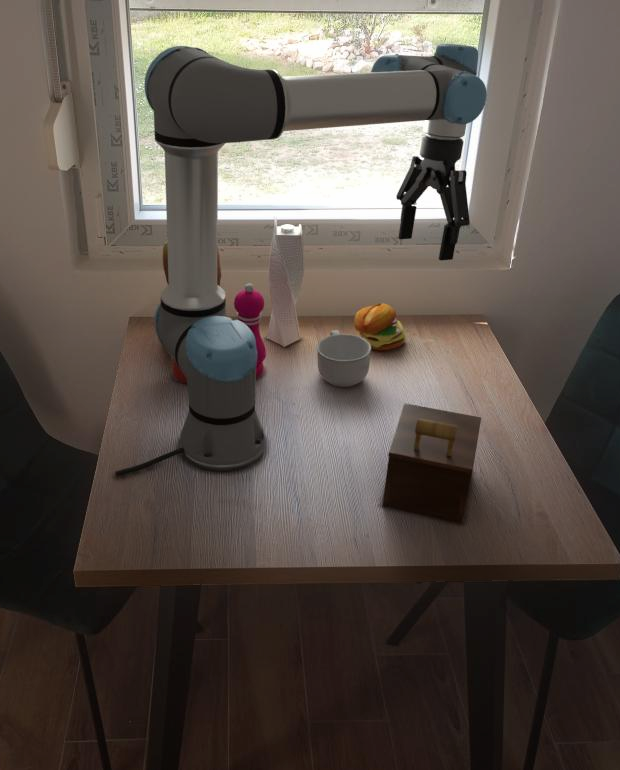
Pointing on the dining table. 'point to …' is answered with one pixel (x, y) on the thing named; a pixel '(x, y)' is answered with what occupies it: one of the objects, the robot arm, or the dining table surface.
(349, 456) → the dining table surface
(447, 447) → the lid
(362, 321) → the cheeseburger
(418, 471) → the caddy
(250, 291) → the pepper mill
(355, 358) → the teacup
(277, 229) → the skyscraper
